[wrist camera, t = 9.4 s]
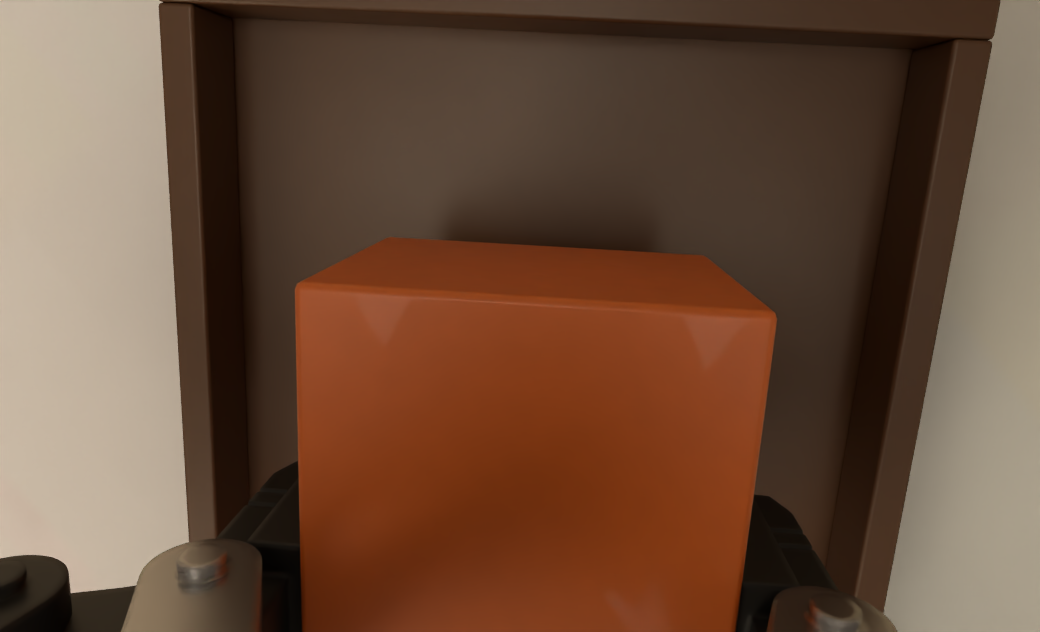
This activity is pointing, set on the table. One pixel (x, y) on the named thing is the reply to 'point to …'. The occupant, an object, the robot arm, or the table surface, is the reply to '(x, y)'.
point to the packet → (526, 439)
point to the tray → (584, 198)
